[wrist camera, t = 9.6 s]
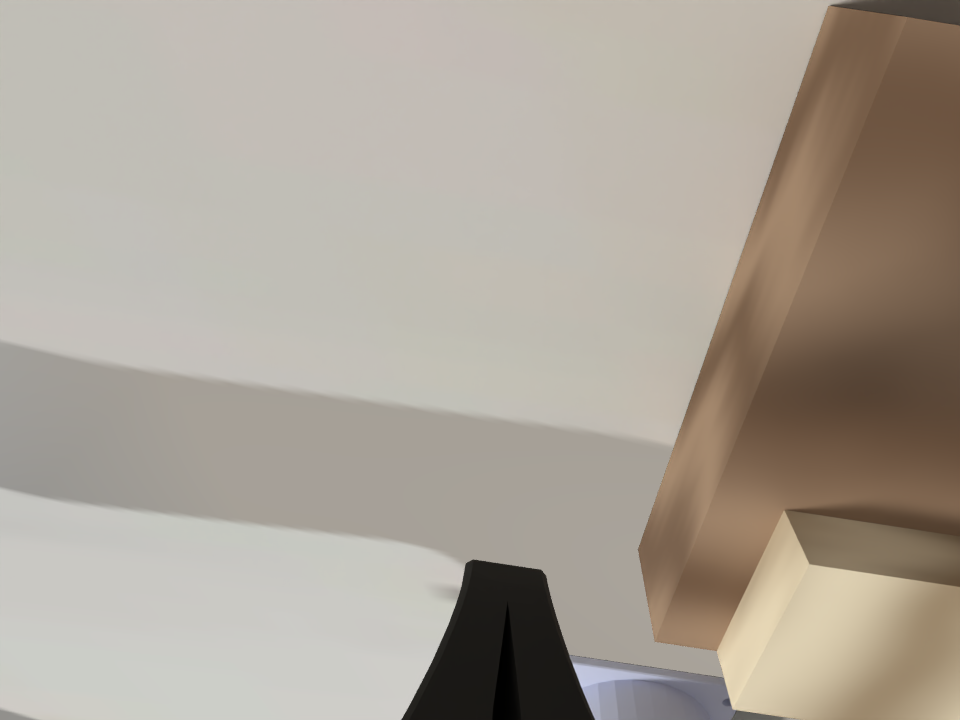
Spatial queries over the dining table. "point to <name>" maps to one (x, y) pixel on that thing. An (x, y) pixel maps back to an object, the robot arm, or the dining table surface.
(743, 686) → the cream flat block
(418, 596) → the dining table surface
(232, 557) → the dining table surface
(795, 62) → the dining table surface
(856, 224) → the tan flat block
